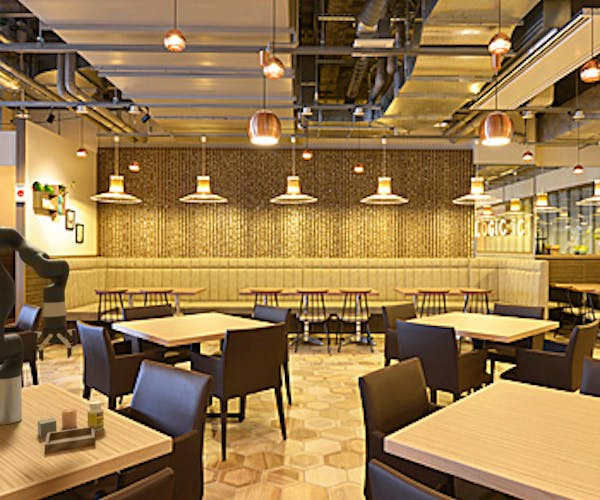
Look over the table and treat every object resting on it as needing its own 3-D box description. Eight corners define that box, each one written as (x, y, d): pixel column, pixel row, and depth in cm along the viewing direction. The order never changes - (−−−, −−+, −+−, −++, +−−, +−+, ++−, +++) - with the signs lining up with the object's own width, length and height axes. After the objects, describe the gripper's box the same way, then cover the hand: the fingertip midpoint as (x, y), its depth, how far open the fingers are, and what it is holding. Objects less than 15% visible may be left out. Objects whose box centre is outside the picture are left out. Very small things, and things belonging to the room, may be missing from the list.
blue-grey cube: (41, 438, 176) (40, 424, 176) (38, 434, 180) (37, 420, 180) (56, 435, 179) (56, 420, 179) (53, 431, 183) (53, 417, 183)
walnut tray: (44, 453, 162) (44, 444, 162) (47, 440, 173) (47, 432, 173) (95, 445, 168) (94, 437, 168) (94, 433, 179) (94, 425, 179)
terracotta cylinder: (61, 430, 184) (61, 413, 184) (62, 425, 188) (62, 409, 188) (76, 428, 186) (76, 411, 186) (76, 423, 190) (76, 407, 190)
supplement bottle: (98, 432, 181) (97, 404, 181) (84, 431, 182) (84, 404, 182) (106, 426, 186) (106, 400, 186) (93, 426, 187) (93, 399, 187)
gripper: (76, 312, 189) (77, 355, 189) (33, 314, 183) (34, 359, 183) (75, 314, 182) (76, 359, 182) (31, 317, 176) (32, 363, 176)
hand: (55, 359), depth 182 cm, fingers open, 8 cm apart
